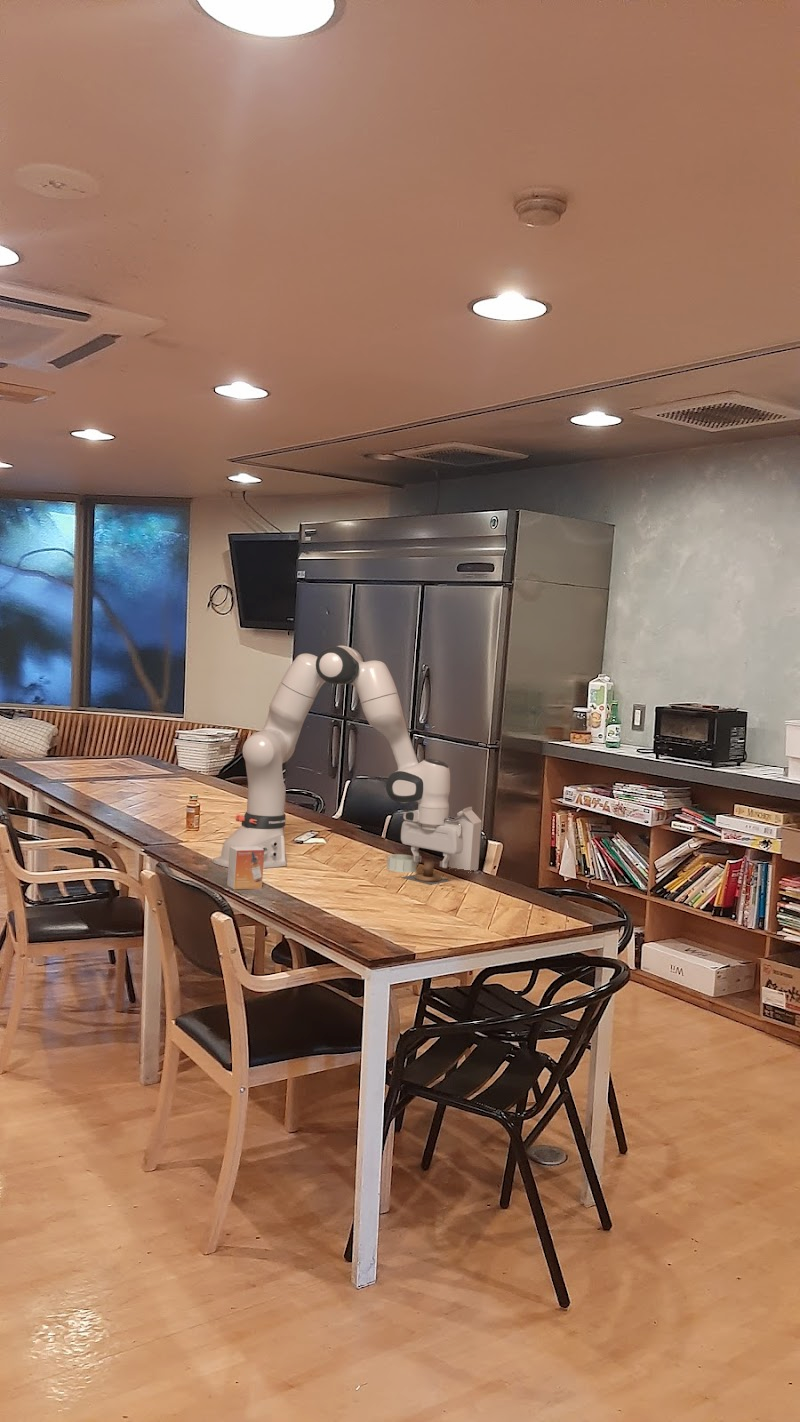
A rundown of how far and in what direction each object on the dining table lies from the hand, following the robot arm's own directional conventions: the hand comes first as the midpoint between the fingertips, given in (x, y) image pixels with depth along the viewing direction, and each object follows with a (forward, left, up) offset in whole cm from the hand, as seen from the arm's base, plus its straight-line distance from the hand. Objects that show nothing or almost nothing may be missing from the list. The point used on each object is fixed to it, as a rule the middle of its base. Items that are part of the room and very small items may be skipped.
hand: (430, 864), depth 311 cm
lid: (0, 0, -4) cm, 4 cm away
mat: (0, +1, -5) cm, 5 cm away
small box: (-49, +23, -5) cm, 55 cm away
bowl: (+4, +13, -5) cm, 15 cm away
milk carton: (+21, +3, -5) cm, 22 cm away
